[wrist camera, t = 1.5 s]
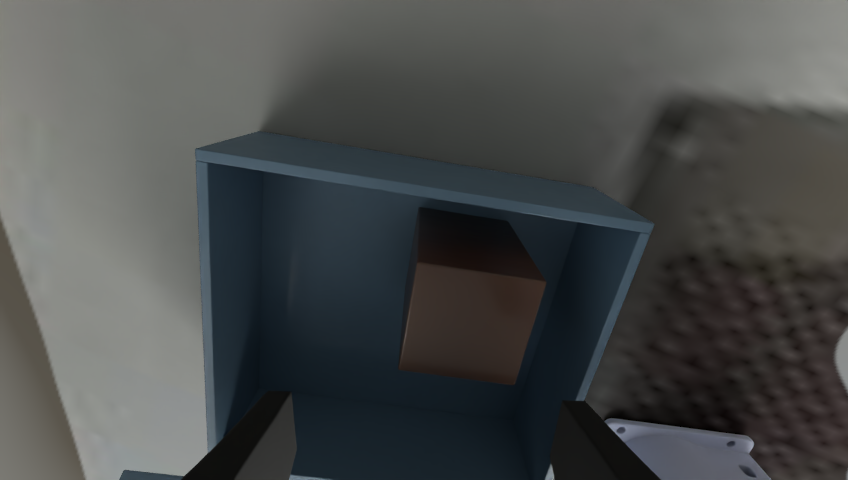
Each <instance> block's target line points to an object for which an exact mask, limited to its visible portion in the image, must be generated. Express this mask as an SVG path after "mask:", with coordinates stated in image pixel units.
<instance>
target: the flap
mask: <svg viewBox="0 0 848 480" xmlns="http://www.w3.org/2000/svg"><path fill="white" fill-rule="evenodd" d="M183 477H184V476H177V475H167V474H158V473H149V472H139V471H130V470H124V471H123V473H122V475H121V477H120V480H181V479H182V478H183Z"/></svg>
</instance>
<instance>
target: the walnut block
mask: <svg viewBox="0 0 848 480" xmlns="http://www.w3.org/2000/svg"><path fill="white" fill-rule="evenodd" d="M545 286H546V280H545V279H544V277H543V275H542V274H541V272H540V271H539V269H538V268H537V266H536V264H535V263H534V261H533V260H532V258H531V256H530V255H529V253H528V252H527V250H526V249H525V247H524V245H523V244H522V242H521V241H520V239H519V237H518V236H517V234H516V233H515V231H514V230H513V228H512V226H511V225H510V223H509V222H508V221H504V220H498V219H492V218H486V217H479V216H473V215H467V214H461V213H454V212H448V211H442V210H436V209H429V208H423V207H419V208H418V214H417V220H416V226H415V231H414V237H413V243H412V249H411V255H410V261H409V267H408V273H407V279H406V285H405V294H404V306H403V317H402V329H401V340H400V352H399V363H398V369H399V370H402V371H409V372H417V373H424V374H432V375H439V376H447V377H454V378H462V379H469V380H477V381H484V382H492V383H499V384H507V385H515V382H516V379H517V376H518V373H519V369H520V366H521V363H522V360H523V357H524V353H525V350H526V347H527V344H528V341H529V337H530V334H531V331H532V328H533V325H534V322H535V318H536V315H537V312H538V309H539V306H540V302H541V299H542V296H543V293H544V290H545Z"/></svg>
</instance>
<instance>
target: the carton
mask: <svg viewBox="0 0 848 480" xmlns="http://www.w3.org/2000/svg"><path fill="white" fill-rule="evenodd" d="M195 156H196V160H197V161H196V180H197V203H198V227H199V251H200V275H201V299H202V323H203V347H204V370H205V394H206V418H207V442H208V453H209V452H210V451H211V450H212V449H213V448H214V447H215V446H216V445H217V444H218V443H219V442H220V441H221V440H222V439H223V438H224V437H225V436H226V435H227V434H228V432H229V431H230V430H231V429H232V428H233V427H234V426H235V425H236V424H237V423H238V422H239V421H240V420H241V419H242V418H243V417H244V415H245V414H246V413H247V412H248V411H249V410H250V409H251V408H252V407H253V406H254V405H255V404H256V402H257V401H258V400H259V399H260V398H261V397H262V396H263V395H264V394H265V393H266V392H267V391H291V392H292V403H293V413H294V424H295V434H296V445H297V450H296V454H295V458H294V462H293V466H292V470H291V474H290V478H289V480H552V479H553V477H554V474H553V469H552V465H551V461H550V452H551V447H552V443H553V439H554V434H555V430H556V425H557V421H558V417H559V412H560V408H561V403H562V400H568V401H584V399H585V397H586V394H587V392H588V389H589V387H590V384H591V382H592V379H593V377H594V374H595V372H596V369H597V367H598V364H599V362H600V359H601V357H602V354H603V352H604V349H605V347H606V344H607V342H608V339H609V337H610V334H611V332H612V329H613V327H614V324H615V322H616V319H617V317H618V314H619V312H620V309H621V307H622V304H623V302H624V299H625V297H626V294H627V292H628V289H629V287H630V284H631V282H632V279H633V277H634V274H635V272H636V269H637V267H638V264H639V262H640V259H641V257H642V254H643V252H644V249H645V247H646V244H647V242H648V239H649V237H650V233H651V232H652V229H653V227H654V223H652V222H651V221H649V220H647V219H646V218H644V217H642V216H641V215H639V214H637V213H636V212H634V211H632V210H631V209H629V208H627V207H626V206H624V205H622V204H620V203H619V202H617V201H615V200H614V199H612V198H610V197H609V196H607V195H605V194H604V193H602V192H600V191H599V190H597V189H595V188H594V187H589V186H583V185H577V184H571V183H565V182H560V181H554V180H548V179H542V178H536V177H530V176H524V175H518V174H512V173H506V172H500V171H494V170H488V169H482V168H476V167H470V166H464V165H458V164H452V163H446V162H440V161H434V160H428V159H422V158H417V157H411V156H405V155H399V154H393V153H387V152H381V151H375V150H369V149H363V148H357V147H351V146H345V145H339V144H333V143H327V142H321V141H315V140H309V139H303V138H297V137H291V136H285V135H280V134H274V133H268V132H262V131H258V132H254V133H251V134H247V135H243V136H240V137H236V138H233V139H229V140H225V141H222V142H218V143H214V144H211V145H207V146H204V147H200V148H196V149H195ZM419 207H423V208H429V209H436V210H442V211H448V212H454V213H461V214H467V215H473V216H479V217H486V218H492V219H498V220H504V221H508V222H509V223H510V225H511V226H512V228H513V230H514V231H515V233H516V234H517V236H518V237H519V239H520V241H521V242H522V244H523V245H524V247H525V249H526V250H527V252H528V253H529V255H530V256H531V258H532V260H533V261H534V263H535V264H536V266H537V268H538V269H539V271H540V272H541V274H542V275H543V277H544V279H545V280H546V286H545V290H544V293H543V296H542V299H541V302H540V306H539V309H538V312H537V315H536V318H535V322H534V325H533V328H532V331H531V334H530V337H529V341H528V344H527V347H526V350H525V353H524V357H523V360H522V363H521V366H520V369H519V373H518V376H517V379H516V382H515V385H507V384H499V383H492V382H484V381H477V380H469V379H462V378H454V377H447V376H439V375H432V374H424V373H417V372H409V371H402V370H399V369H398V363H399V352H400V340H401V329H402V317H403V306H404V294H405V285H406V279H407V273H408V267H409V261H410V255H411V249H412V243H413V237H414V231H415V226H416V220H417V214H418V208H419Z"/></svg>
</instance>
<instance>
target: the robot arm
mask: <svg viewBox="0 0 848 480" xmlns="http://www.w3.org/2000/svg"><path fill="white" fill-rule="evenodd" d="M619 427H620V428H619ZM753 446H754V442H753V441H752V440H751V439H750V438H749V437H748V436H746V435H738V434H731V433H723V432H715V431H708V430H700V429H692V428H685V427H677V426H669V425H662V424H654V423H646V422H639V421H631V420H623V419H615V418H609V419H607V420H605V421H603V420H602V419H601V417H600V416H599V415H598V414H597V413H596V412H595V411H594V410H593V409H592V408H591V407H590V406H589V405H588V404H587V403H586V402H585V401H568V400H562V403H561V408H560V412H559V417H558V421H557V425H556V430H555V434H554V439H553V443H552V447H551V452H550V461H551V465H552V469H553V474H554V478H555V480H771V479H770V477H769V476H768V475H767V474H766V473H765V472H764V471H763V469H762V468H761V467H760V466H759V465H758V464H757V463H756V462H755V460H754V459H753V458H752V457H751V456H750V455H749V453H750V451H751V450H752V448H753ZM296 450H297V445H296V434H295V424H294V413H293V403H292V392H291V391H267V392H266V393H265V394H264V395H263V396H262V397H261V398H260V399H259V400H258V401H257V402H256V404H255V405H254V406H253V407H252V408H251V409H250V410H249V411H248V412H247V413H246V414H245V415H244V417H243V418H242V419H241V420H240V421H239V422H238V423H237V424H236V425H235V426H234V427H233V428H232V429H231V430H230V431H229V432H228V434H227V435H226V436H225V437H224V438H223V439H222V440H221V441H220V442H219V443H218V444H217V445H216V446H215V447H214V448H213V449H212V450H211V451H210V452H209V453H208V454H207V455H206V456H205V457H204V458H203V459H202V460H201V461H200V462H199V463H198V464H197V465H196V466H195V467H194V468H193V469H192V470H190V471H189V472H188V473H187V474H186V475H185V476H184V477H183V478H182V479H181V480H289V478H290V474H291V470H292V466H293V462H294V458H295V454H296Z"/></svg>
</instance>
